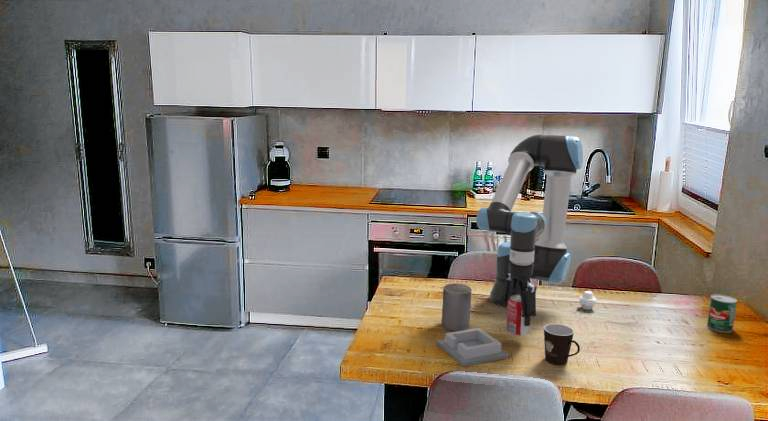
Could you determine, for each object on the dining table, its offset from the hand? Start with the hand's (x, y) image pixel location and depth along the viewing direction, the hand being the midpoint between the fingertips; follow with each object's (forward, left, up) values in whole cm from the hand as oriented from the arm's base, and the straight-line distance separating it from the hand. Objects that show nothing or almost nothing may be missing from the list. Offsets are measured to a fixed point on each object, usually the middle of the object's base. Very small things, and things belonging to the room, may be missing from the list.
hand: (517, 329), depth 182 cm
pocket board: (+18, +1, -4) cm, 18 cm away
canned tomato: (-73, +16, -4) cm, 75 cm away
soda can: (0, 0, -1) cm, 1 cm away
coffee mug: (-2, +17, -4) cm, 18 cm away
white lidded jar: (-42, -15, -4) cm, 45 cm away
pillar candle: (+13, -18, -4) cm, 22 cm away
